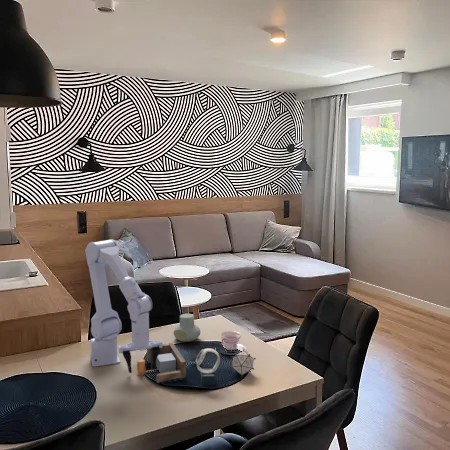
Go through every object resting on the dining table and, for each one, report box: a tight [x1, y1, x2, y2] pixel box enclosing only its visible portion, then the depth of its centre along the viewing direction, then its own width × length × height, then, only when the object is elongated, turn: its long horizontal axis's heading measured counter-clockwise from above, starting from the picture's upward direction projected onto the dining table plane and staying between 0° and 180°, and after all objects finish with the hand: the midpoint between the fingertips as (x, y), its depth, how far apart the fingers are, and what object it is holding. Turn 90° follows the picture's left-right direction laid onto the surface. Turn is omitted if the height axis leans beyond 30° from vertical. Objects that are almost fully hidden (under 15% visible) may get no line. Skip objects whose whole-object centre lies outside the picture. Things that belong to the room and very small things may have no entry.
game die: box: [229, 349, 256, 378], centre depth 160 cm, size 9×8×10 cm
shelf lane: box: [146, 342, 187, 384], centre depth 163 cm, size 10×17×6 cm, turn 21°
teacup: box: [220, 330, 247, 353], centre depth 180 cm, size 12×12×6 cm
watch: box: [195, 347, 221, 386], centre depth 154 cm, size 6×8×11 cm
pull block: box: [136, 353, 176, 376], centre depth 161 cm, size 13×6×4 cm, turn 111°
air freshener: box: [173, 313, 201, 343], centre depth 191 cm, size 11×8×10 cm
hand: (141, 369), depth 160 cm, fingers open, 7 cm apart
